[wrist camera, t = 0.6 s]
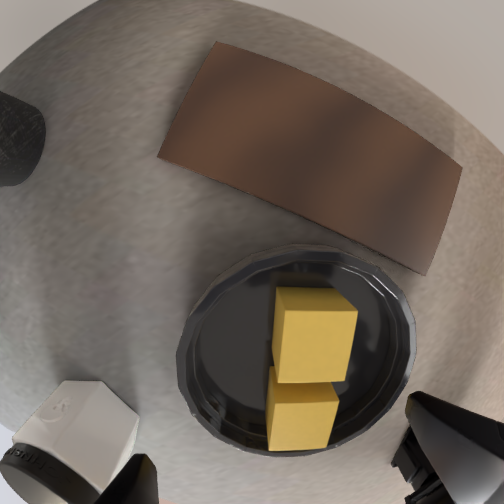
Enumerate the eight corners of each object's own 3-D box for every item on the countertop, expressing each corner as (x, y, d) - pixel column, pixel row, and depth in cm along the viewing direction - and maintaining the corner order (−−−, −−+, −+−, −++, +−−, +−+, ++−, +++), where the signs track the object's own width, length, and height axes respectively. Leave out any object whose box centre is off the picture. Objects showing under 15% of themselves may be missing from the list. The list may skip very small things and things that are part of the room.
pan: (412, 249, 19) (436, 257, 16) (371, 424, 22) (382, 446, 19) (185, 237, 19) (173, 243, 16) (191, 427, 22) (185, 452, 18)
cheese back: (323, 365, 20) (339, 400, 16) (314, 410, 21) (326, 448, 16) (269, 365, 20) (275, 403, 16) (265, 411, 21) (268, 451, 16)
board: (453, 168, 18) (462, 167, 17) (417, 273, 20) (425, 276, 18) (217, 49, 17) (216, 41, 16) (162, 159, 18) (156, 157, 17)
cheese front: (335, 287, 19) (358, 310, 15) (326, 347, 20) (344, 381, 15) (276, 286, 19) (285, 309, 15) (271, 347, 20) (277, 383, 15)
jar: (123, 377, 21) (56, 481, 9) (155, 445, 22) (122, 545, 10) (48, 376, 21) (-23, 448, 9) (82, 439, 22) (36, 515, 10)
